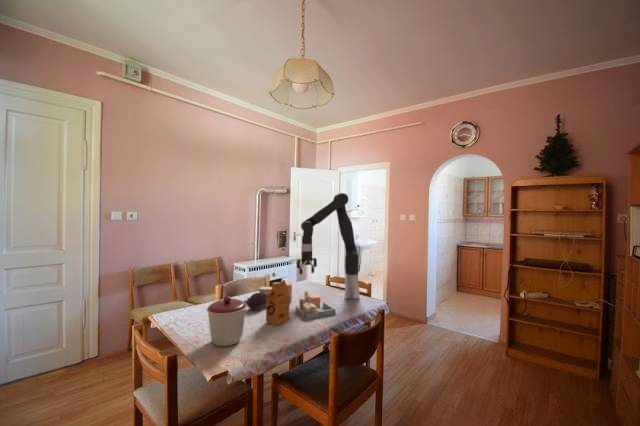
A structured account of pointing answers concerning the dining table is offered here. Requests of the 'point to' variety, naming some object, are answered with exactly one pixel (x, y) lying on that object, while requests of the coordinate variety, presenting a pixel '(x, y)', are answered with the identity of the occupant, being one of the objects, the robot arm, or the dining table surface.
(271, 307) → the coffee package
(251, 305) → the pine cone
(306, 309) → the birch block
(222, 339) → the canister
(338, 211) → the robot arm
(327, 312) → the shelf rack
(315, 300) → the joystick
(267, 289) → the stack of blocks
